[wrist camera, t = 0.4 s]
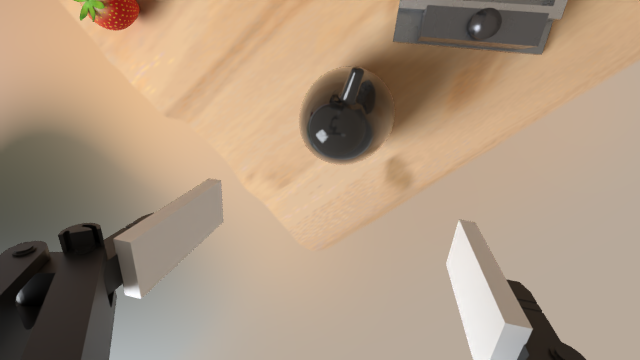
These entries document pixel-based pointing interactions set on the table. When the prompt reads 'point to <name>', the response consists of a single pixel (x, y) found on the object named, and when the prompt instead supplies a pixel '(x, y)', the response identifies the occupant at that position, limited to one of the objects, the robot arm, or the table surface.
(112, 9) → the fruit
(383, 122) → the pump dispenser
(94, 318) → the robot arm
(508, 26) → the tray unit
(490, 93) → the table surface
